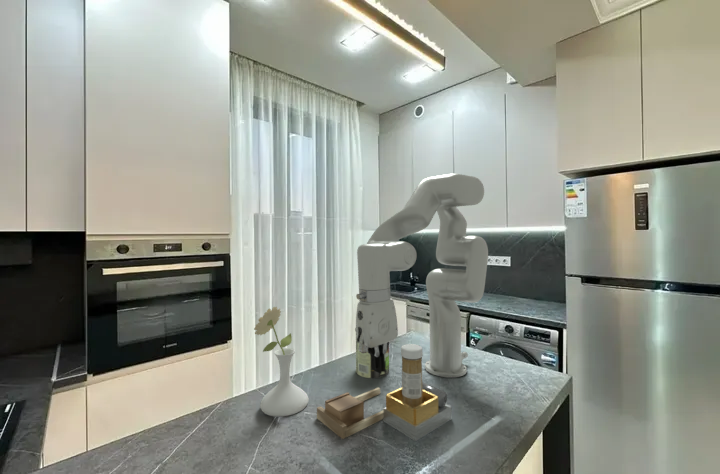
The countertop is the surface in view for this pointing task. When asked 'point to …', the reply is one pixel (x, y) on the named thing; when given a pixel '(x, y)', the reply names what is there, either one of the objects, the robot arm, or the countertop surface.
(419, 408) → the gold open box
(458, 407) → the countertop surface
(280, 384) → the flower in vase
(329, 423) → the tray
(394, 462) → the countertop surface
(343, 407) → the tan cardboard box
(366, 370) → the coffee can
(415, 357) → the sprinkles bottle
